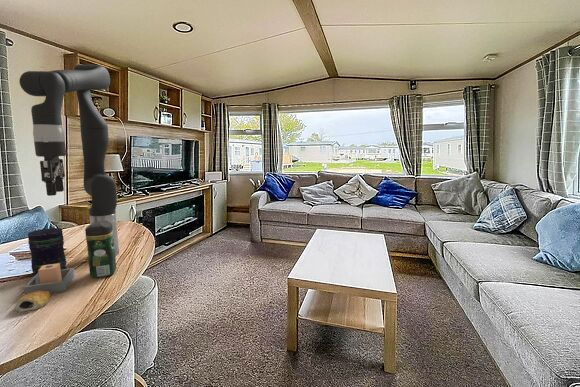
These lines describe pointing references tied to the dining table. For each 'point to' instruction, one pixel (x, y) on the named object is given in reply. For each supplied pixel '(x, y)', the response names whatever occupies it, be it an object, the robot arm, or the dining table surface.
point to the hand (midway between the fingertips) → (55, 193)
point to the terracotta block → (50, 273)
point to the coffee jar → (100, 249)
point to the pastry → (32, 301)
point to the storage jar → (46, 248)
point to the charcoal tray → (53, 287)
